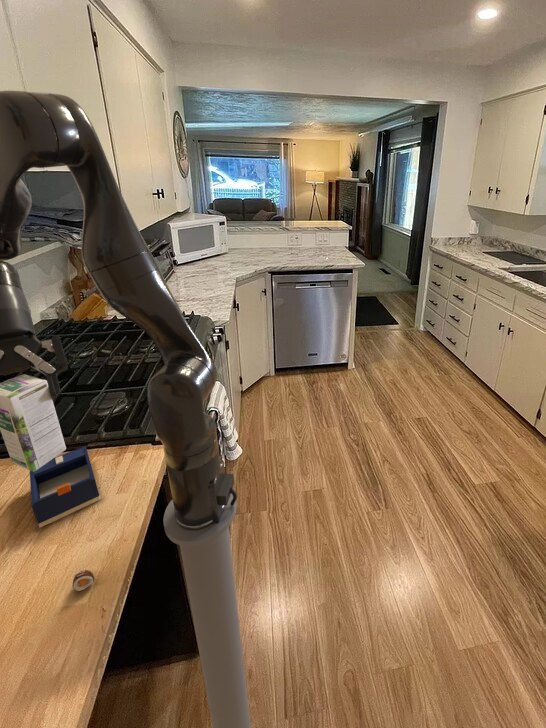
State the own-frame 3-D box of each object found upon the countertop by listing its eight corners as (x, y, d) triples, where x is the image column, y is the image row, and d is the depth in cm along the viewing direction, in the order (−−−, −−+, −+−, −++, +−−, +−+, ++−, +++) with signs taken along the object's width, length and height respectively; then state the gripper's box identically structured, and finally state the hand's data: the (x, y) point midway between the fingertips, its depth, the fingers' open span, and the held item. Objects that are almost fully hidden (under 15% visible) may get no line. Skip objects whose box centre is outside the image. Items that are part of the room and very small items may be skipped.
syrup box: (10, 463, 60) (-18, 390, 55) (46, 440, 65) (24, 371, 60) (33, 473, 58) (7, 398, 53) (68, 448, 63) (47, 378, 58)
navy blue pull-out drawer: (101, 501, 73) (93, 474, 70) (39, 530, 67) (29, 501, 64) (91, 464, 82) (84, 439, 79) (36, 487, 76) (27, 460, 73)
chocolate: (97, 573, 60) (92, 557, 58) (95, 586, 58) (90, 569, 56) (76, 581, 58) (70, 564, 57) (73, 595, 57) (67, 578, 55)
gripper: (-66, 317, 54) (-47, 419, 50) (51, 298, 63) (75, 384, 58) (-49, 337, 60) (-32, 430, 55) (55, 317, 68) (78, 396, 64)
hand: (23, 406), depth 57 cm, fingers closed on syrup box, 7 cm apart
